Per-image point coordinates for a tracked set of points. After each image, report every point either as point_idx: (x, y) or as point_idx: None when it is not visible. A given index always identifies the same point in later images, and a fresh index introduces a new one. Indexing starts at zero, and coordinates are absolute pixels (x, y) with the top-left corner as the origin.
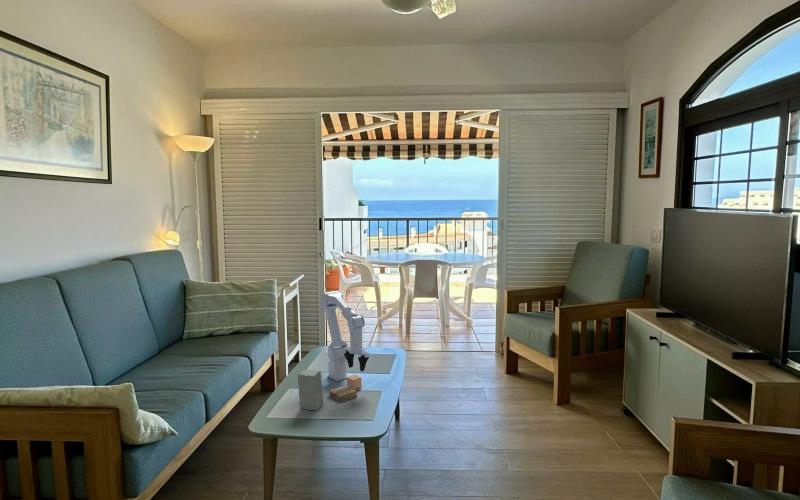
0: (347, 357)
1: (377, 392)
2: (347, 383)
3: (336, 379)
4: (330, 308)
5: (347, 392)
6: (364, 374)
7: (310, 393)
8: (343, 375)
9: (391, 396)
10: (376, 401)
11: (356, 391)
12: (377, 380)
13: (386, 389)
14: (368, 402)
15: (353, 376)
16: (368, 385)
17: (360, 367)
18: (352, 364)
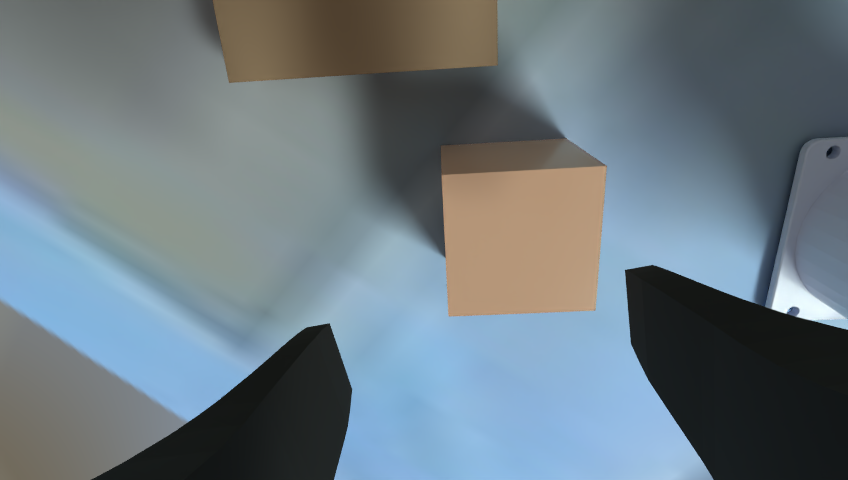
0: (818, 375)
1: (231, 302)
2: (565, 148)
3: (842, 148)
4: None
5: None
6: None
7: None
8: (821, 251)
9: (80, 342)
10: (25, 172)
11: (233, 80)
12: (487, 451)
13: None
14: (33, 89)
15: (553, 256)
16: (440, 334)
17: (279, 362)
18: (652, 366)
